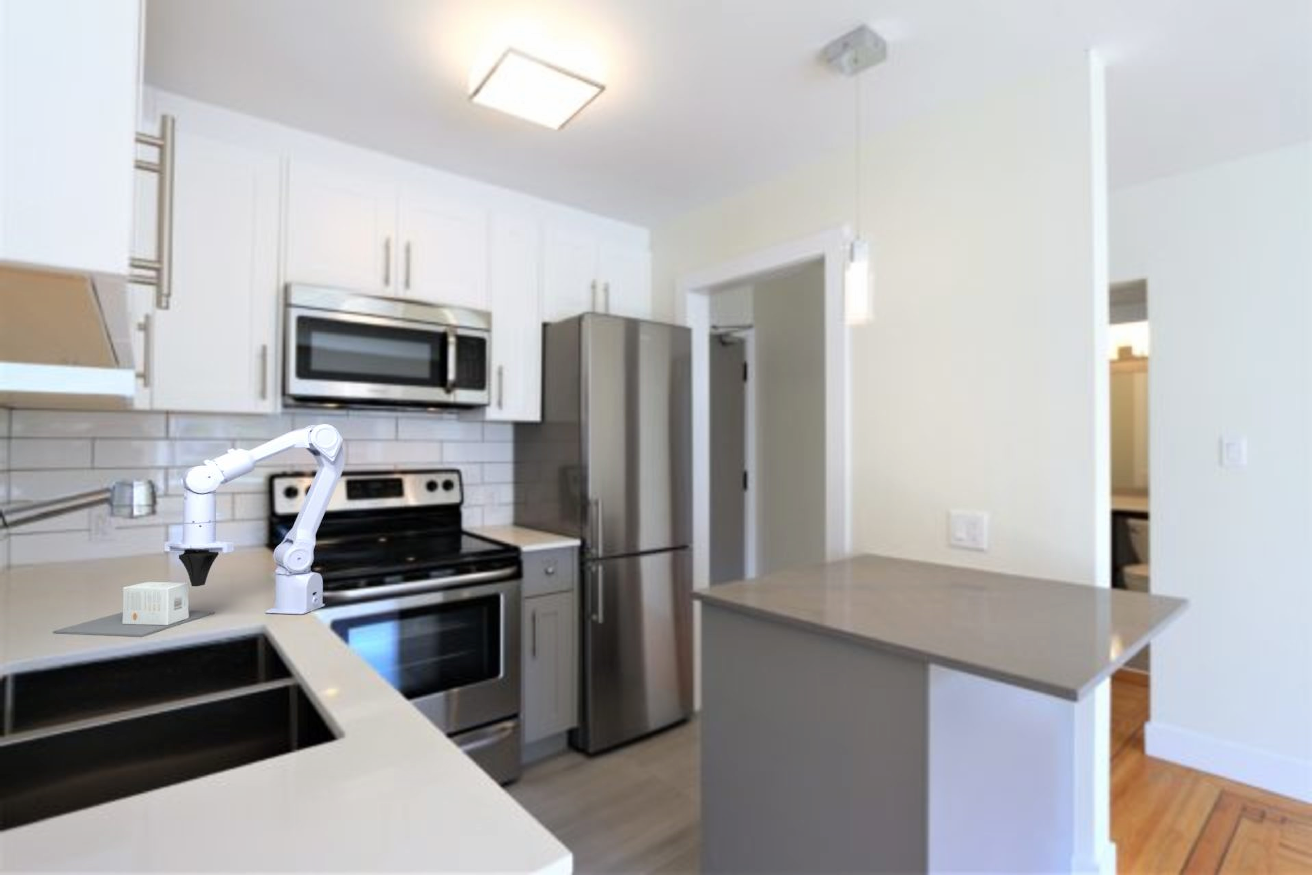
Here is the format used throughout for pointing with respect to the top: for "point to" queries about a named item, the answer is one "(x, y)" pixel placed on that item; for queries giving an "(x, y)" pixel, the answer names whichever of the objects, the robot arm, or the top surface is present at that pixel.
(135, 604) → the small box
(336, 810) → the top surface
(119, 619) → the mat
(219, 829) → the top surface
